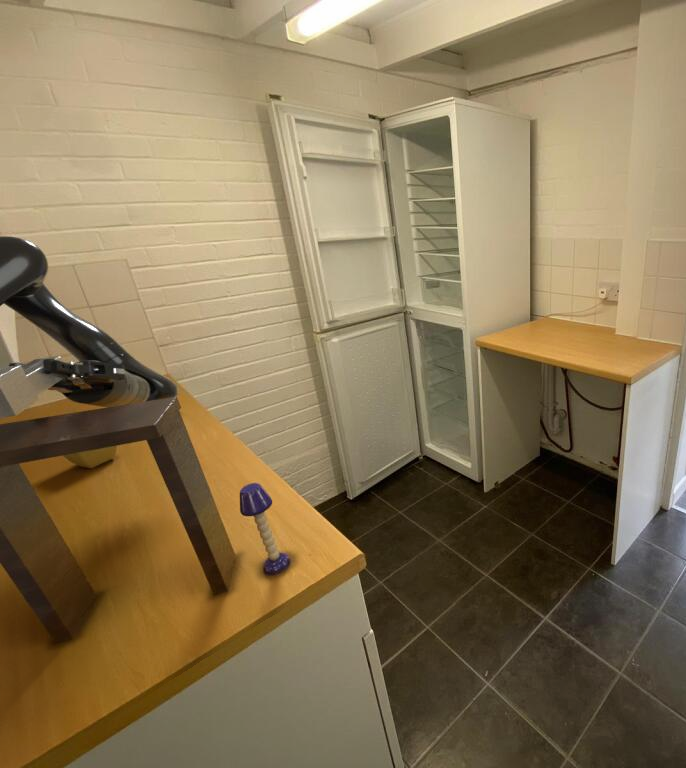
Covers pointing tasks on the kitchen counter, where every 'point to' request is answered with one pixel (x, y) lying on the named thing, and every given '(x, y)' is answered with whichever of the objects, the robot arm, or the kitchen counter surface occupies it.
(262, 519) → the toy lamp
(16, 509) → the dark brown arch frame
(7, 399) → the silver stand
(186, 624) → the kitchen counter surface
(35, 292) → the robot arm
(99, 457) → the flower pot
